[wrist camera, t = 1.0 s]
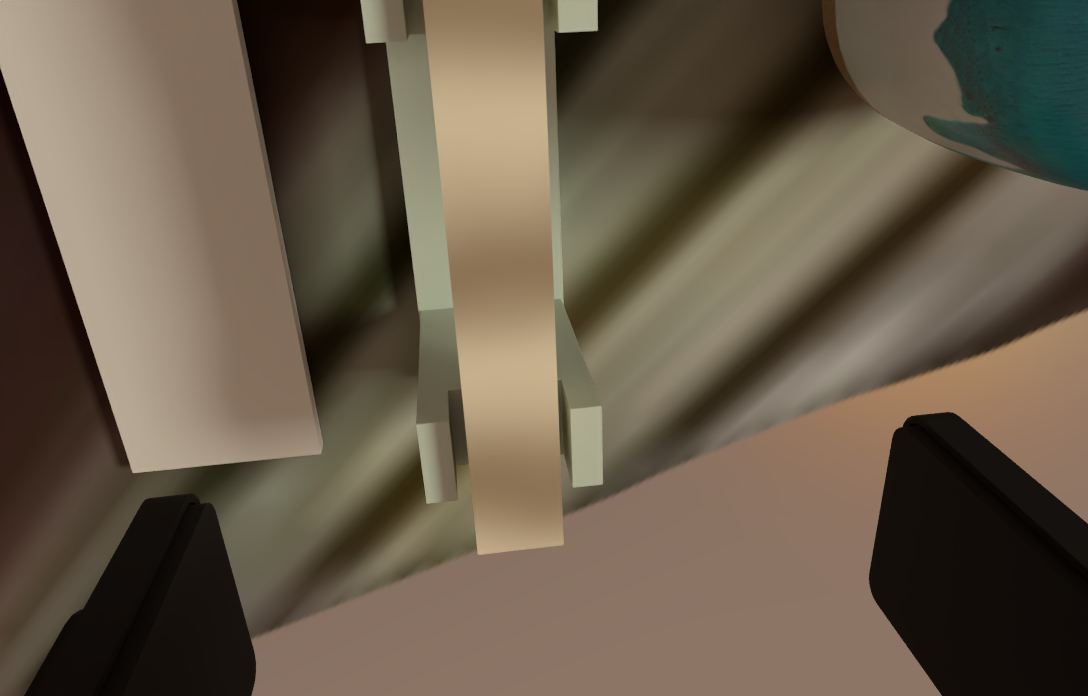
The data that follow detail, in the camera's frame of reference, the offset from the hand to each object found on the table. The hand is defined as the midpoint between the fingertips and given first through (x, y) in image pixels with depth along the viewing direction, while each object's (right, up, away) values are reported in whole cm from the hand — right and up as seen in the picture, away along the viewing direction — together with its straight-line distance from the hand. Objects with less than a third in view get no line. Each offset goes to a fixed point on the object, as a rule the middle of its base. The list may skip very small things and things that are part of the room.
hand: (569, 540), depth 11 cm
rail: (-2, +6, +13) cm, 15 cm away
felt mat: (-15, +9, +19) cm, 26 cm away
